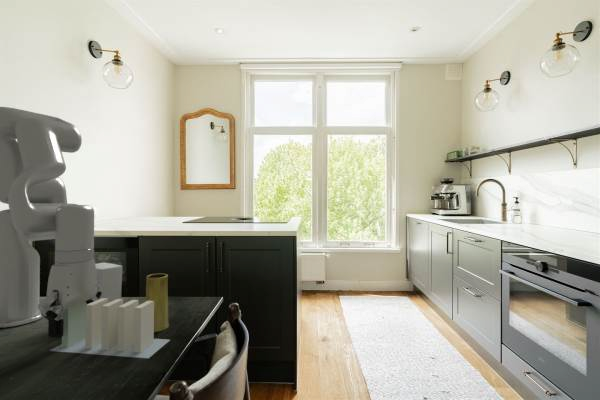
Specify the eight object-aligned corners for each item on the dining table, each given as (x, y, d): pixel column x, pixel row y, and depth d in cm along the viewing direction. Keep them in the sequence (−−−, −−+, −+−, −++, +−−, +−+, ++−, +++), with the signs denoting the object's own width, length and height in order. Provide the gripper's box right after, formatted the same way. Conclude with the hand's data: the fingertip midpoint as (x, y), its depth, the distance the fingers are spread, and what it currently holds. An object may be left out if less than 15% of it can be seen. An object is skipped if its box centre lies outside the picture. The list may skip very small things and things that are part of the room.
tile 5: (133, 352, 70) (134, 307, 70) (147, 342, 74) (147, 300, 74) (140, 352, 69) (141, 308, 69) (153, 342, 74) (154, 300, 74)
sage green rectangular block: (61, 346, 72) (62, 303, 72) (79, 337, 77) (80, 296, 77) (67, 347, 71) (68, 303, 71) (85, 337, 76) (85, 297, 76)
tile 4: (117, 350, 70) (117, 306, 70) (132, 341, 75) (132, 299, 75) (123, 351, 70) (124, 307, 70) (138, 341, 75) (138, 300, 75)
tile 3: (101, 349, 70) (101, 305, 70) (116, 339, 75) (117, 298, 75) (107, 350, 70) (108, 306, 70) (122, 340, 75) (123, 299, 75)
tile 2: (85, 348, 71) (85, 304, 71) (101, 338, 76) (102, 298, 76) (91, 349, 71) (92, 305, 71) (107, 339, 76) (108, 298, 76)
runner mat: (49, 352, 70) (49, 350, 70) (81, 335, 79) (81, 333, 79) (148, 360, 67) (148, 358, 67) (170, 341, 76) (170, 339, 76)
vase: (159, 334, 80) (159, 279, 80) (138, 332, 81) (139, 277, 81) (173, 325, 86) (174, 273, 86) (153, 323, 87) (154, 272, 87)
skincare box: (80, 320, 88) (81, 266, 88) (103, 313, 94) (103, 261, 94) (100, 325, 85) (101, 268, 85) (122, 317, 91) (123, 264, 91)
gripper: (89, 250, 83) (88, 314, 83) (24, 263, 66) (23, 343, 66) (115, 251, 82) (114, 315, 82) (56, 264, 65) (55, 345, 65)
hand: (74, 327), depth 74 cm, fingers open, 9 cm apart
